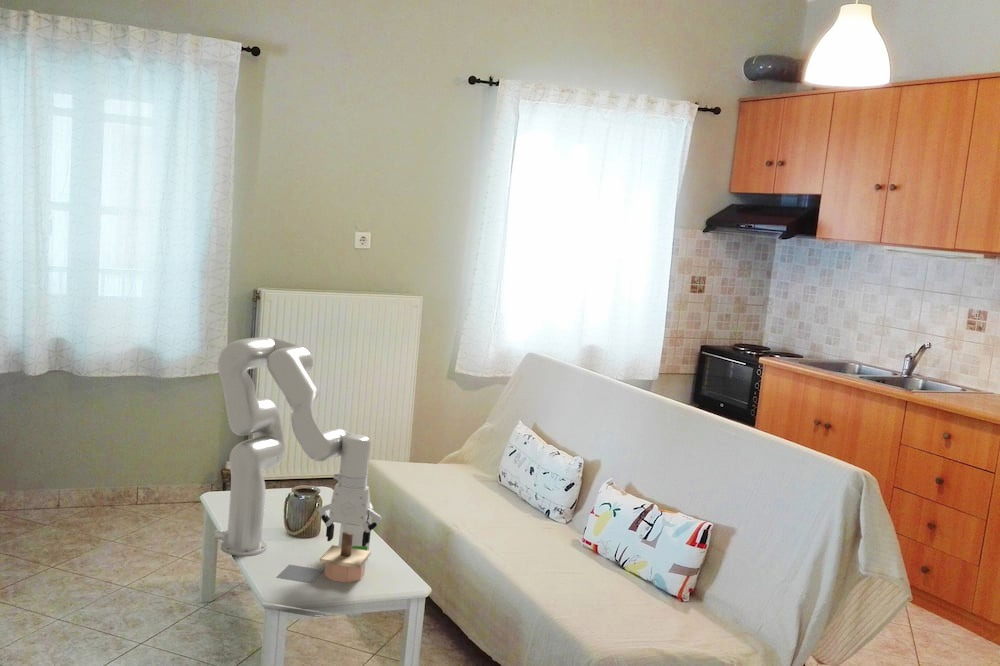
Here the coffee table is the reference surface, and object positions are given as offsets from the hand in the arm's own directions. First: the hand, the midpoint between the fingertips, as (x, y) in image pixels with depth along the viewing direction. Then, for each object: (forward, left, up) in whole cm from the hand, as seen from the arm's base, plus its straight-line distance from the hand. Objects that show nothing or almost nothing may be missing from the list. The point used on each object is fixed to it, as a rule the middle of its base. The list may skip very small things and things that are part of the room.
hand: (347, 542), depth 259 cm
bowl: (0, 0, -10) cm, 10 cm away
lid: (0, 0, -4) cm, 5 cm away
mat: (-11, -4, -10) cm, 15 cm away
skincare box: (-2, +15, -10) cm, 18 cm away
